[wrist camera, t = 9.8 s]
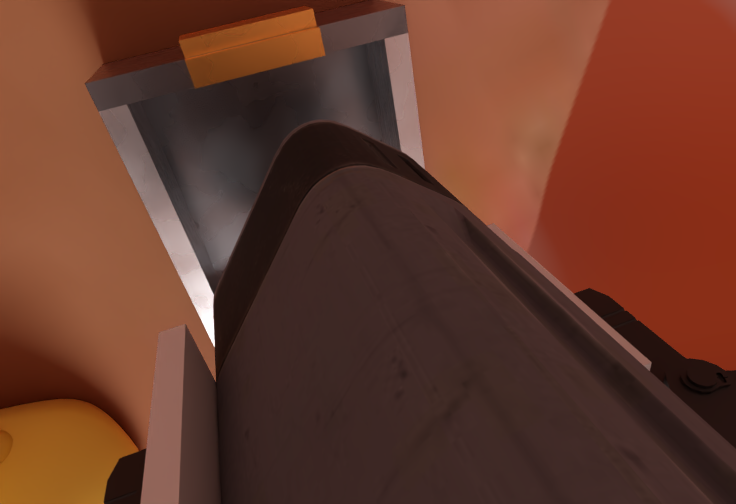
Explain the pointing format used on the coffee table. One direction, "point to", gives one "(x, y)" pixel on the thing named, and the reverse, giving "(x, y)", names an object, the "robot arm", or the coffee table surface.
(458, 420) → the electronic device
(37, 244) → the coffee table surface
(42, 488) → the teapot
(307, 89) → the rack
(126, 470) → the robot arm
